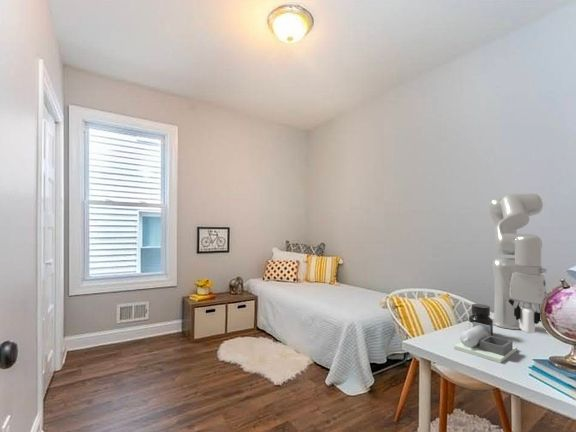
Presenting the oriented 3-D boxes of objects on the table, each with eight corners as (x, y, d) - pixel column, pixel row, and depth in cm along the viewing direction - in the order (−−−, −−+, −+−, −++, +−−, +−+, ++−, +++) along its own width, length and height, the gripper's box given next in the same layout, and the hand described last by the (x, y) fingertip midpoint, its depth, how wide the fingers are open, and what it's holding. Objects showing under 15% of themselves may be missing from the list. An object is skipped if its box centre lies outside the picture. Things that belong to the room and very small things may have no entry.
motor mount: (473, 338, 129) (473, 320, 130) (517, 350, 118) (517, 330, 118) (454, 348, 118) (454, 329, 118) (500, 363, 106) (500, 341, 107)
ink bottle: (464, 332, 137) (464, 304, 137) (473, 328, 142) (473, 302, 142) (488, 339, 129) (488, 309, 129) (497, 334, 134) (497, 306, 134)
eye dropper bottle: (534, 329, 113) (535, 296, 113) (534, 334, 109) (535, 300, 109) (519, 326, 116) (520, 294, 116) (519, 331, 112) (519, 298, 111)
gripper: (561, 272, 108) (560, 325, 108) (503, 266, 121) (503, 313, 121) (555, 275, 103) (555, 330, 103) (496, 268, 116) (496, 317, 116)
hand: (527, 320), depth 112 cm, fingers closed on eye dropper bottle, 4 cm apart
